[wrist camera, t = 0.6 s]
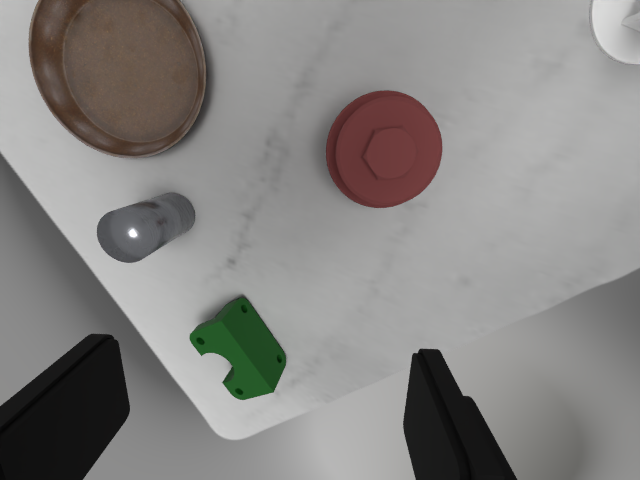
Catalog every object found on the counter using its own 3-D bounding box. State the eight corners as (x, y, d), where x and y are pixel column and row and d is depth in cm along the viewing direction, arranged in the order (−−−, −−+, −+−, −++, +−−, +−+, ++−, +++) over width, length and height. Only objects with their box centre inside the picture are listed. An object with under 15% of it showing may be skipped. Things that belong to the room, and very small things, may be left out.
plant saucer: (22, -2, 33) (-7, -16, 30) (186, -46, 32) (171, -65, 29) (90, 170, 38) (71, 173, 35) (235, 139, 37) (227, 139, 34)
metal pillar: (157, 187, 38) (99, 202, 29) (198, 200, 39) (155, 219, 29) (150, 226, 40) (94, 253, 30) (191, 238, 40) (147, 269, 30)
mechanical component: (390, 208, 38) (312, 173, 37) (433, 125, 36) (349, 85, 35) (418, 237, 26) (305, 187, 26) (484, 117, 24) (360, 56, 23)
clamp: (230, 304, 47) (180, 320, 39) (262, 291, 45) (215, 305, 37) (258, 385, 46) (212, 420, 38) (292, 376, 44) (251, 410, 35)
